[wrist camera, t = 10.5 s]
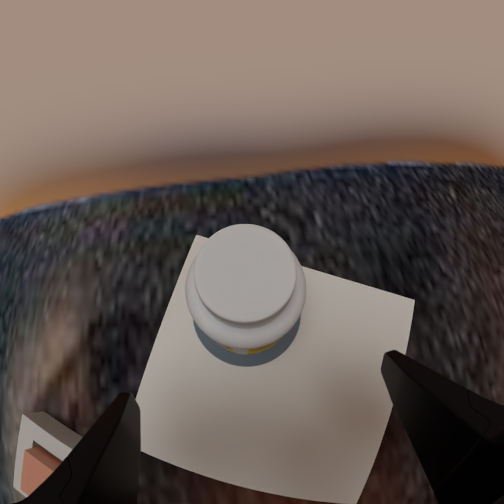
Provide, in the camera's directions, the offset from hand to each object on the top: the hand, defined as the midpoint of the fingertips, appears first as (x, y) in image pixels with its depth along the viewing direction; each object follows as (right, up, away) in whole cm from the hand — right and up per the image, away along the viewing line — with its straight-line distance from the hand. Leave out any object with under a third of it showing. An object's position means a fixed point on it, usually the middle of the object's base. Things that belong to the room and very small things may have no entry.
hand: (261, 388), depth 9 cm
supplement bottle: (-1, 0, +12) cm, 12 cm away
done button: (-15, -12, +5) cm, 20 cm away
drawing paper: (+1, -4, +10) cm, 11 cm away
